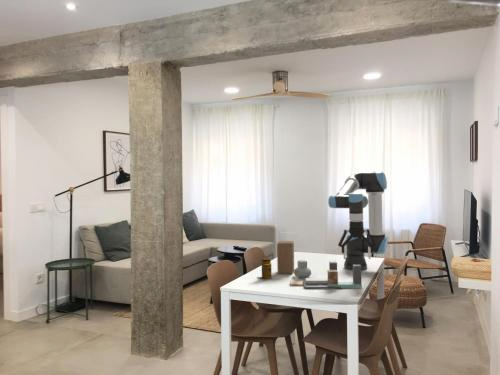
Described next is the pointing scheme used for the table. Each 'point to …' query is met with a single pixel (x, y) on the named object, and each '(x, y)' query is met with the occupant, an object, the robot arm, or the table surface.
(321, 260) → the table surface
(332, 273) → the walnut block
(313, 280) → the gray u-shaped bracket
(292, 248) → the wooden block
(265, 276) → the condiment
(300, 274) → the air freshener
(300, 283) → the cork trivet
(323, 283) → the lane rails
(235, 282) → the table surface
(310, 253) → the table surface
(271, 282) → the table surface
